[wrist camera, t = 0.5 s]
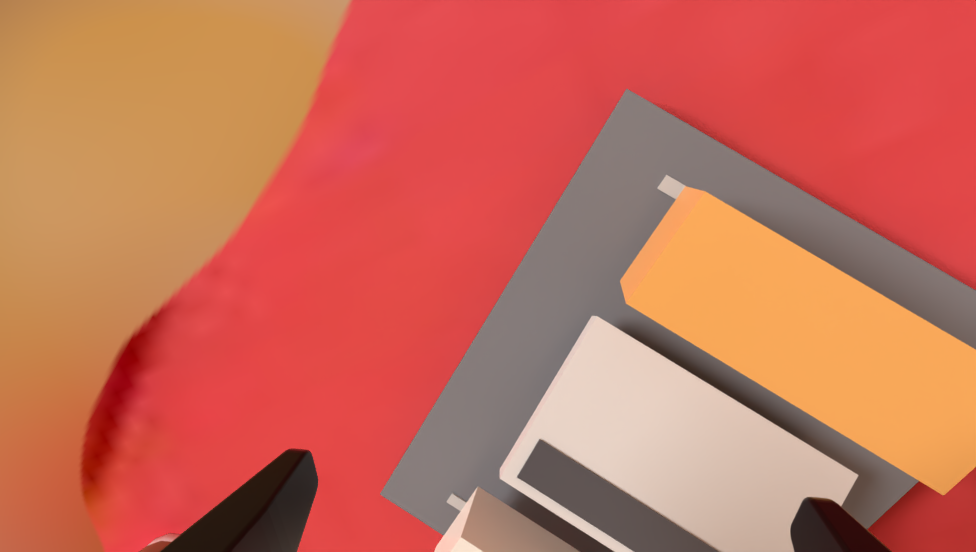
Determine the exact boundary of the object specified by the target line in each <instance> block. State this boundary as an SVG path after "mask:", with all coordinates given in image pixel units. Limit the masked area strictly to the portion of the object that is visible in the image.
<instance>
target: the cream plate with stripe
mask: <svg viewBox="0 0 976 552" xmlns="http://www.w3.org/2000/svg"><path fill="white" fill-rule="evenodd" d="M857 477H858V475H857V474H856V473H854V472H852V471H851V470H849V469H848V468H846V467H844V466H843V465H841V464H839V463H838V462H836V461H834V460H833V459H831V458H829V457H828V456H826V455H825V454H823V453H821V452H820V451H818V450H816V449H815V448H813V447H811V446H810V445H808V444H806V443H805V442H803V441H802V440H800V439H798V438H797V437H795V436H793V435H792V434H790V433H788V432H787V431H785V430H783V429H782V428H780V427H779V426H777V425H775V424H774V423H772V422H770V421H769V420H767V419H765V418H764V417H762V416H760V415H759V414H757V413H756V412H754V411H752V410H751V409H749V408H747V407H746V406H744V405H742V404H741V403H739V402H737V401H736V400H734V399H733V398H731V397H729V396H728V395H726V394H724V393H723V392H721V391H719V390H718V389H716V388H714V387H713V386H711V385H710V384H708V383H706V382H705V381H703V380H701V379H700V378H698V377H696V376H695V375H693V374H691V373H690V372H688V371H687V370H685V369H683V368H682V367H680V366H678V365H677V364H675V363H673V362H672V361H670V360H668V359H667V358H665V357H664V356H662V355H660V354H659V353H657V352H655V351H654V350H652V349H650V348H649V347H647V346H645V345H644V344H642V343H641V342H639V341H637V340H636V339H634V338H632V337H631V336H629V335H627V334H626V333H624V332H622V331H621V330H619V329H618V328H616V327H614V326H613V325H611V324H609V323H608V322H606V321H604V320H603V319H601V318H599V317H598V316H591V318H590V320H589V321H588V323H587V325H586V326H585V328H584V330H583V331H582V333H581V335H580V336H579V338H578V340H577V341H576V343H575V345H574V346H573V348H572V350H571V351H570V353H569V355H568V356H567V358H566V360H565V361H564V363H563V365H562V366H561V368H560V370H559V371H558V373H557V375H556V376H555V378H554V380H553V381H552V383H551V385H550V386H549V388H548V390H547V391H546V393H545V395H544V396H543V398H542V400H541V401H540V403H539V405H538V406H537V408H536V410H535V411H534V413H533V415H532V416H531V418H530V420H529V421H528V423H527V425H526V426H525V428H524V430H523V431H522V433H521V435H520V436H519V438H518V440H517V441H516V443H515V445H514V446H513V448H512V450H511V451H510V453H509V455H508V456H507V458H506V460H505V461H504V463H503V465H502V466H501V468H500V479H501V480H503V481H504V482H506V483H507V484H509V485H511V486H512V487H514V488H515V489H517V490H518V491H520V492H522V493H523V494H525V495H526V496H528V497H529V498H531V499H533V500H534V501H536V502H537V503H539V504H540V505H542V506H544V507H545V508H547V509H548V510H550V511H551V512H553V513H555V514H556V515H558V516H559V517H561V518H562V519H564V520H566V521H567V522H569V523H570V524H572V525H573V526H575V527H577V528H578V529H580V530H581V531H583V532H584V533H586V534H588V535H589V536H591V537H592V538H594V539H595V540H597V541H599V542H600V543H602V544H603V545H605V546H606V547H608V548H610V549H611V550H613V551H614V552H794V548H793V545H792V541H791V536H790V528H791V524H792V521H793V519H794V517H795V515H796V513H797V511H798V509H799V507H800V505H801V503H802V501H803V499H805V498H806V497H819V498H828V499H831V500H833V501H835V502H836V503H838V504H839V505H840V506H842V504H843V502H844V500H845V499H846V497H847V495H848V493H849V491H850V490H851V488H852V486H853V484H854V482H855V481H856V479H857Z"/></svg>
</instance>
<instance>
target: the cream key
mask: <svg viewBox="0 0 976 552" xmlns="http://www.w3.org/2000/svg"><path fill="white" fill-rule="evenodd" d="M434 552H580V551H578V550H577V549H575V548H574V547H572V546H571V545H569V544H567V543H566V542H564V541H563V540H561V539H560V538H558V537H557V536H555V535H553V534H552V533H550V532H549V531H547V530H546V529H544V528H542V527H541V526H539V525H538V524H536V523H535V522H533V521H531V520H530V519H528V518H527V517H525V516H524V515H522V514H521V513H519V512H517V511H516V510H514V509H513V508H511V507H510V506H508V505H506V504H505V503H503V502H502V501H500V500H499V499H497V498H495V497H494V496H492V495H491V494H489V493H488V492H486V491H485V490H483V489H481V488H480V487H477V488H476V490H475V491H474V493H473V494H472V496H471V497H470V498H469V500H468V501H467V503H466V504H465V506H464V507H463V509H462V510H461V511H460V513H459V514H458V516H457V517H456V519H455V520H454V522H453V523H452V524H451V526H450V527H449V529H448V530H447V532H446V533H445V535H444V536H443V538H442V539H441V540H440V542H439V543H438V545H437V546H436V549H435V551H434Z"/></svg>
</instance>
